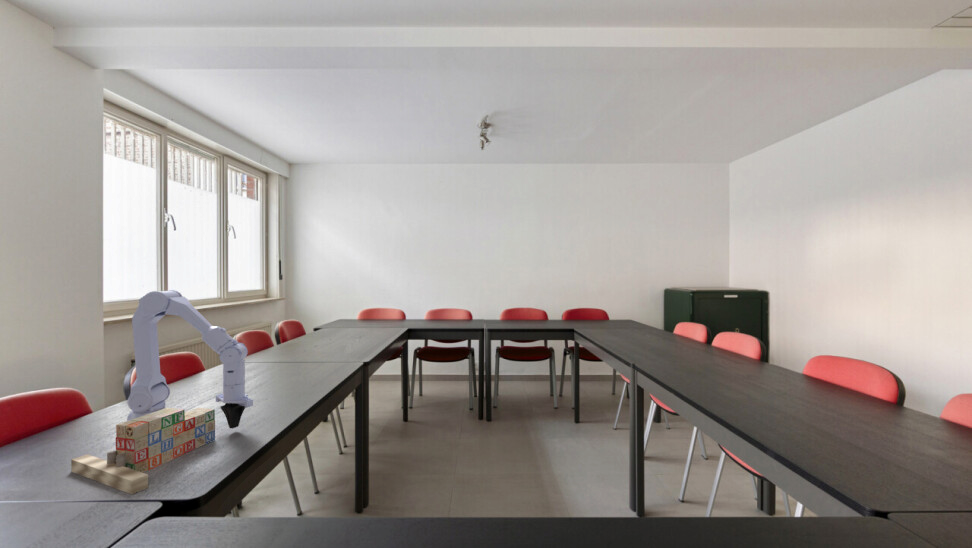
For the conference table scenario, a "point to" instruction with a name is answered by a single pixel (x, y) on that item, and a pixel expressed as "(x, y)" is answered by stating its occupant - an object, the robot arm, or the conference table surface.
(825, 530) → the conference table surface
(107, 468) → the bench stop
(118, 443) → the stack of blocks
